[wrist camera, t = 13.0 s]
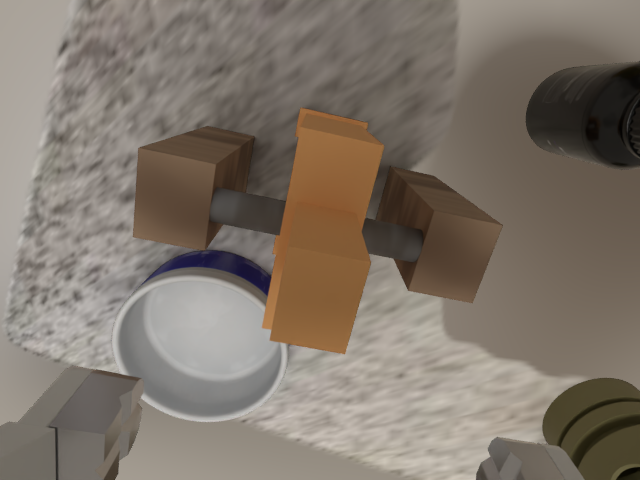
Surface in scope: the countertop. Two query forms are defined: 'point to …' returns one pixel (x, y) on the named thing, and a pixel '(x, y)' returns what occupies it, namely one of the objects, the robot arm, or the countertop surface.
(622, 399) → the piston
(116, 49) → the countertop surface
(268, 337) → the dog bowl
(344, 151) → the orange stepped block
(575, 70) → the supplement bottle
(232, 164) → the crossbar stand
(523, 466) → the robot arm
